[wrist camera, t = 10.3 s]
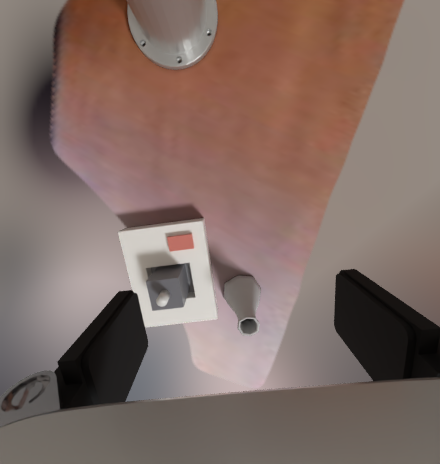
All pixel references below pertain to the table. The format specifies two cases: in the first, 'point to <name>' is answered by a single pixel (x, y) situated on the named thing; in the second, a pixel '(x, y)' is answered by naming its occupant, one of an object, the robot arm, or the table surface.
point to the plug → (168, 287)
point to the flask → (244, 302)
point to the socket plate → (170, 253)
